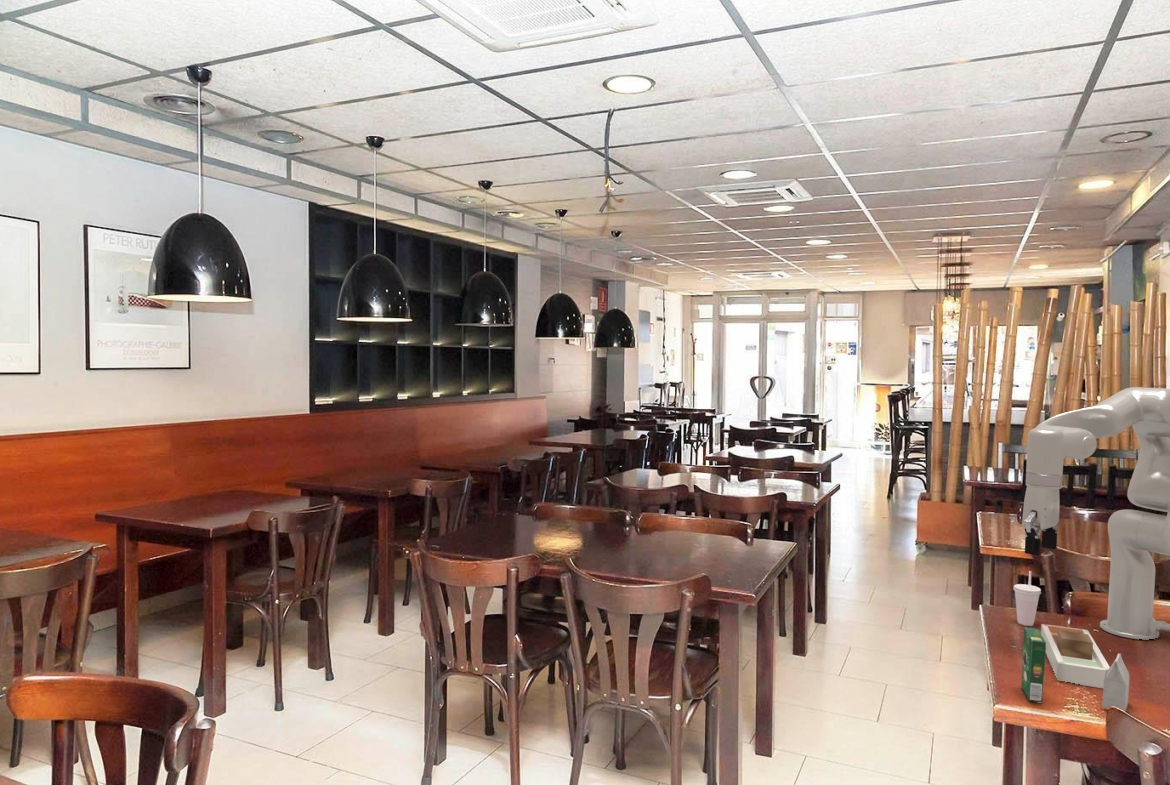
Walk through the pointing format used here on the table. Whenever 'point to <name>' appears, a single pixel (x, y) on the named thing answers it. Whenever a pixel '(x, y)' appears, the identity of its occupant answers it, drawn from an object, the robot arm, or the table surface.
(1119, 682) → the milk carton
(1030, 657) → the coffee box
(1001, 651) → the table surface
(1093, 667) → the box
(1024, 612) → the smoothie
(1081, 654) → the block
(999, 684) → the table surface
